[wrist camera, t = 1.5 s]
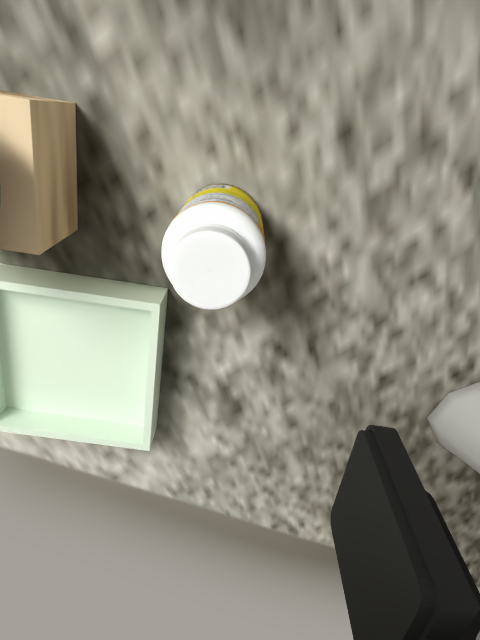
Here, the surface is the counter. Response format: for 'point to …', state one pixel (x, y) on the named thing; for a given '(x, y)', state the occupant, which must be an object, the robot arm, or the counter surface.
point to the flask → (459, 424)
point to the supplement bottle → (215, 247)
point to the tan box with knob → (37, 172)
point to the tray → (80, 357)
